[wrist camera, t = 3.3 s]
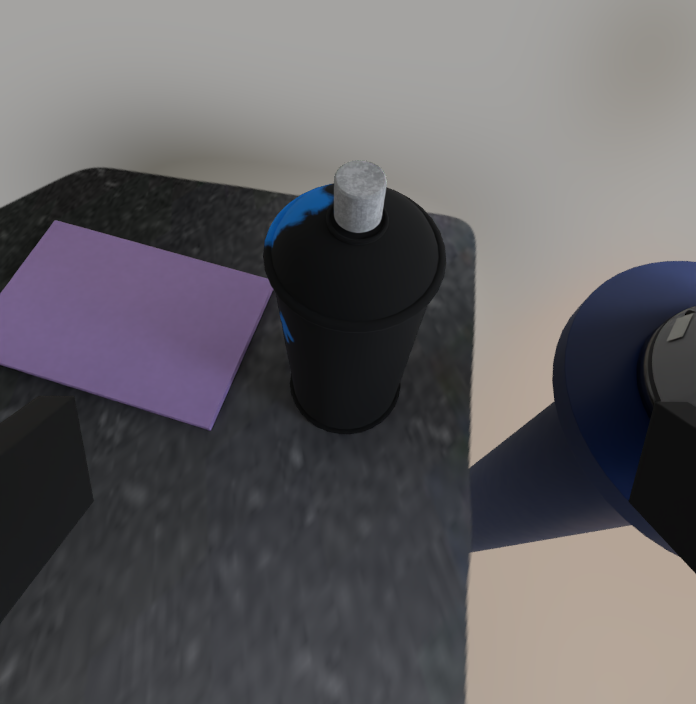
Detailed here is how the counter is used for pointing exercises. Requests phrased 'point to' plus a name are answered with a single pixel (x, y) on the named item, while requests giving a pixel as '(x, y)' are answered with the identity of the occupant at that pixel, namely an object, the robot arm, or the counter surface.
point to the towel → (130, 322)
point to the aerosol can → (351, 293)
